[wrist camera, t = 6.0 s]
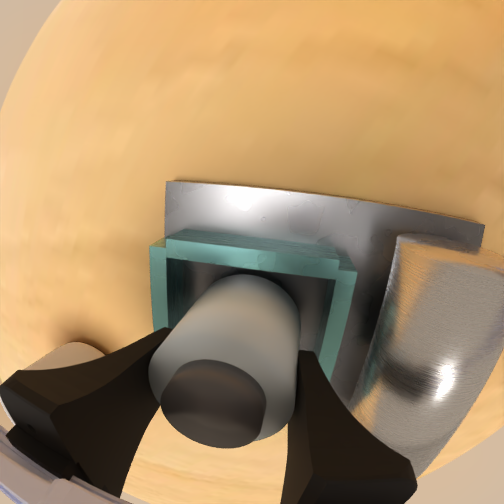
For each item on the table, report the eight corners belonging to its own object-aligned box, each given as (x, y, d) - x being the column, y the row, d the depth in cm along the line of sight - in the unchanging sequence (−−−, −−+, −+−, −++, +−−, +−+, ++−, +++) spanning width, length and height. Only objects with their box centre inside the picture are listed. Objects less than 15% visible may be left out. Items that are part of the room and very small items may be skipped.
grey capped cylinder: (314, 289, 12) (315, 381, 7) (285, 376, 14) (270, 473, 8) (202, 262, 13) (132, 329, 7) (191, 351, 15) (139, 433, 9)
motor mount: (475, 221, 12) (561, 260, 6) (409, 408, 16) (432, 487, 9) (174, 180, 14) (84, 195, 8) (177, 383, 18) (134, 461, 11)
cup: (103, 425, 22) (63, 482, 14) (43, 366, 21) (-8, 413, 13) (160, 389, 19) (108, 472, 11) (79, 308, 18) (1, 368, 10)
